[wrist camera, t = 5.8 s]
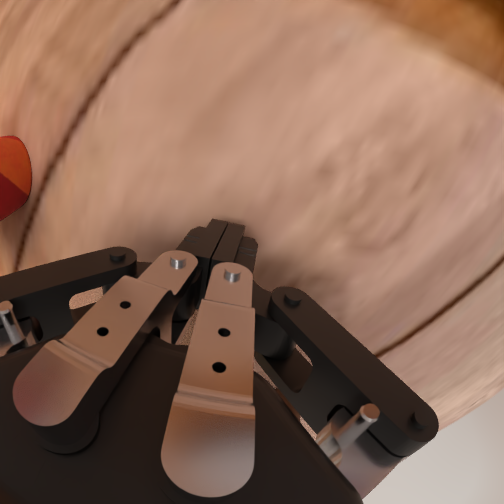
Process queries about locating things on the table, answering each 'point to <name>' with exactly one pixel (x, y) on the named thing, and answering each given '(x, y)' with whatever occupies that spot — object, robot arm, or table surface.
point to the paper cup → (13, 175)
